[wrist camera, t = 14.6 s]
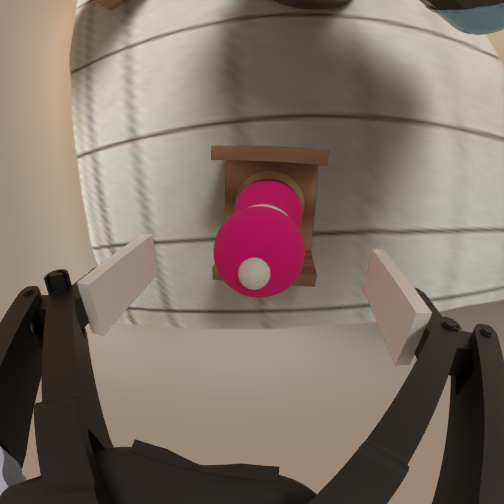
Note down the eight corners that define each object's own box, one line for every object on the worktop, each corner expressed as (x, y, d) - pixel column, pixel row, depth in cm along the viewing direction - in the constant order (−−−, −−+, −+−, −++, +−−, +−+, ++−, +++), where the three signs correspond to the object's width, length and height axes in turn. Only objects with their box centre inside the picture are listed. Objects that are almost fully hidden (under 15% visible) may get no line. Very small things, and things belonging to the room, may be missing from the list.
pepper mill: (256, 242, 35) (226, 348, 16) (230, 191, 33) (162, 248, 14) (309, 219, 33) (339, 310, 14) (284, 165, 31) (287, 187, 12)
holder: (227, 146, 32) (211, 145, 24) (317, 150, 31) (328, 151, 24) (227, 252, 37) (212, 279, 30) (308, 257, 36) (314, 286, 29)
